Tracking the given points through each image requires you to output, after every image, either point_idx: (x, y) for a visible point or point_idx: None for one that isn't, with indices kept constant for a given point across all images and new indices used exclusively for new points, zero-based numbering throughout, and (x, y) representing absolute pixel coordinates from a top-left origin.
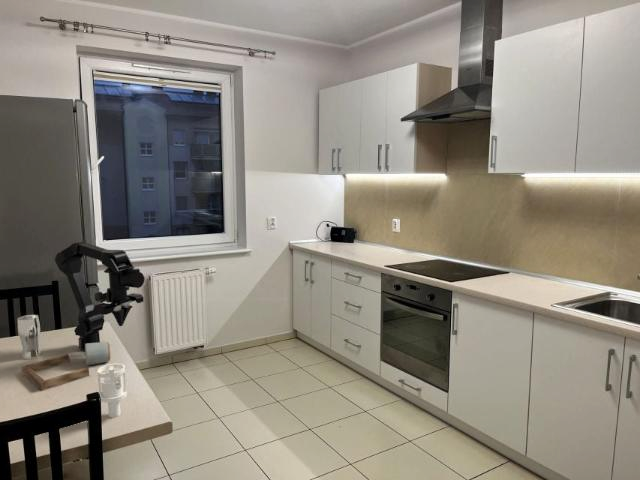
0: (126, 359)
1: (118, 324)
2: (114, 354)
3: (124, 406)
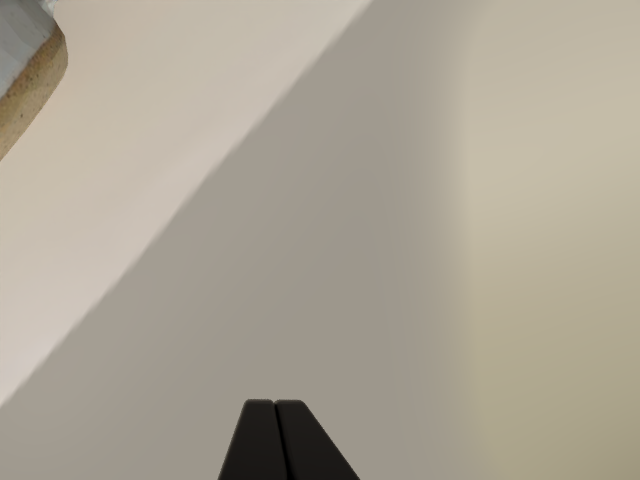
0: (129, 253)
1: (235, 428)
2: (204, 21)
3: None
